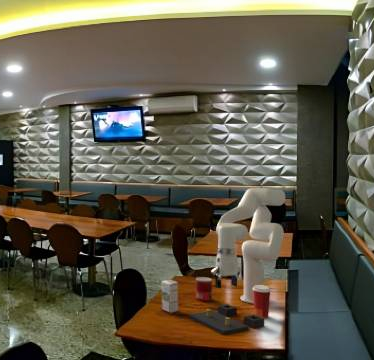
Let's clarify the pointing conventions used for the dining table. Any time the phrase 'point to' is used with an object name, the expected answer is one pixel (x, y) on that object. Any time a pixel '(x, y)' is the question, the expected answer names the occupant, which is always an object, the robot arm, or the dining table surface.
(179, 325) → the dining table surface
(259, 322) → the pad
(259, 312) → the paper cup
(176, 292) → the syrup box
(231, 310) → the pad
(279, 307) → the dining table surface
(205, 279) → the canned food
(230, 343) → the dining table surface
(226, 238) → the robot arm
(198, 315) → the base mat
